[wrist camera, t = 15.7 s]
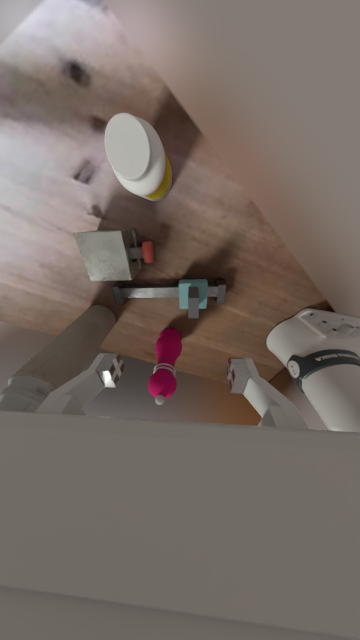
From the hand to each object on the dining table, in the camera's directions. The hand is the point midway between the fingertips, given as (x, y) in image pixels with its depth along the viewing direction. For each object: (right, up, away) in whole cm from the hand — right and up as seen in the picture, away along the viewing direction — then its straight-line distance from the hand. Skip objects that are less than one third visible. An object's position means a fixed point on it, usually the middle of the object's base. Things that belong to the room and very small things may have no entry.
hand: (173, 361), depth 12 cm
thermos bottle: (-22, +4, +32) cm, 39 cm away
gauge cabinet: (-12, +18, +21) cm, 31 cm away
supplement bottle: (-4, +28, +15) cm, 32 cm away
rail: (-2, +11, +26) cm, 28 cm away
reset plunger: (-10, +17, +20) cm, 28 cm away
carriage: (+4, +11, +25) cm, 28 cm away
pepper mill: (-2, -2, +34) cm, 34 cm away
